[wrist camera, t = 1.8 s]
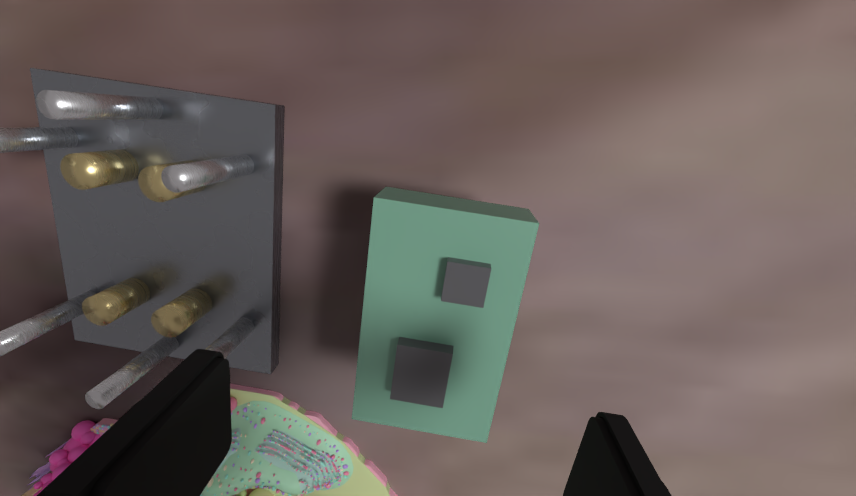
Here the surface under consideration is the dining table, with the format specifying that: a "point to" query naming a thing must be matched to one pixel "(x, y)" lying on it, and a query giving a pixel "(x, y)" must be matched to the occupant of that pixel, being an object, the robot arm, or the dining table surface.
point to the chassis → (159, 221)
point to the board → (439, 310)
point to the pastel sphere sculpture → (260, 453)
